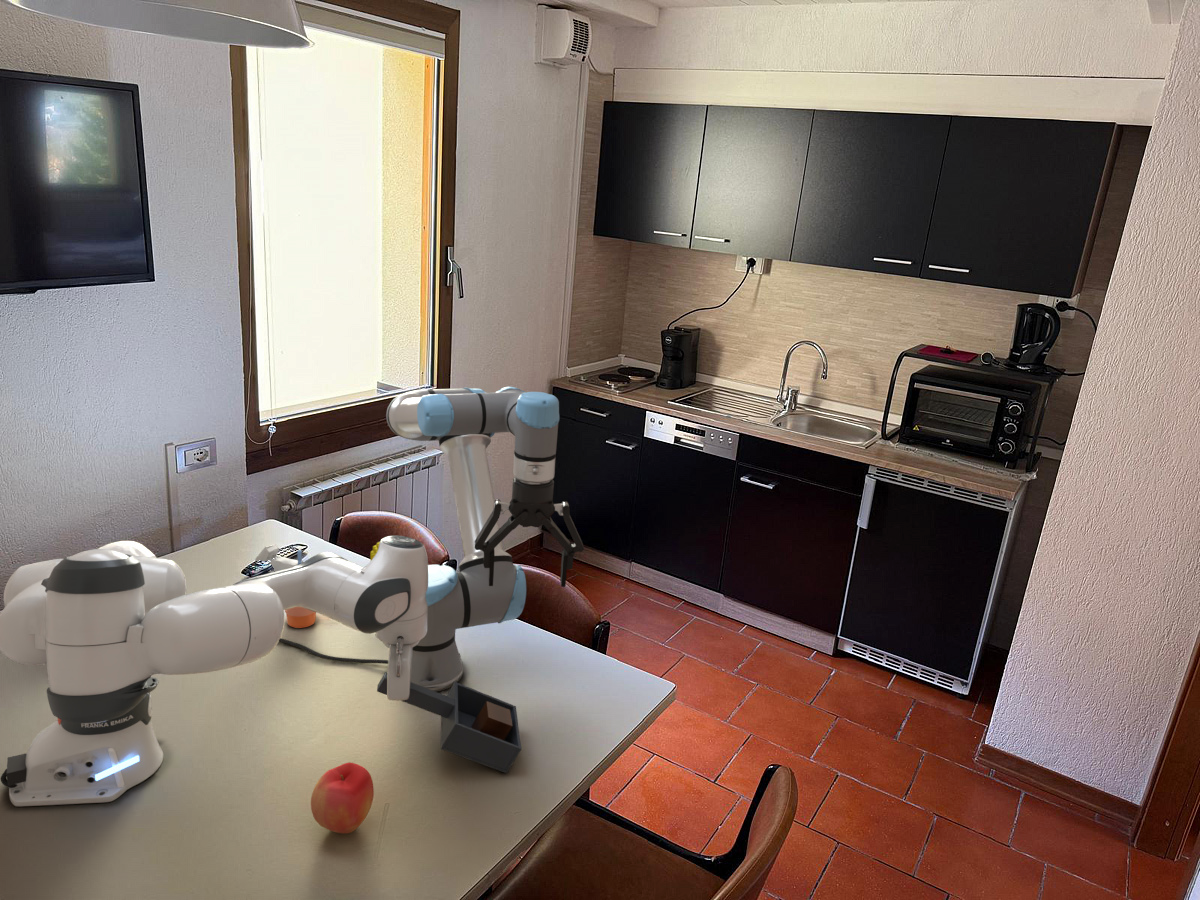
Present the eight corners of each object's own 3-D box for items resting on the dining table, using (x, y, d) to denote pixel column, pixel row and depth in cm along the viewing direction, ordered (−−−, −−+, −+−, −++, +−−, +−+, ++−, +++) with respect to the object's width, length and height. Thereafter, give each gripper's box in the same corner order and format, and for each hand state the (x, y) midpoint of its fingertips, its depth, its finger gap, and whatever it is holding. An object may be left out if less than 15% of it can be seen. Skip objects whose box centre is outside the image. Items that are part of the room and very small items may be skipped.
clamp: (253, 565, 223) (254, 542, 221) (265, 560, 226) (266, 537, 224) (309, 593, 215) (310, 569, 213) (320, 588, 218) (321, 564, 216)
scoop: (367, 721, 146) (382, 695, 145) (373, 678, 158) (387, 654, 157) (506, 773, 154) (521, 749, 153) (502, 728, 166) (516, 706, 165)
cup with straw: (309, 634, 194) (307, 561, 188) (272, 627, 195) (269, 555, 190) (329, 615, 202) (328, 546, 197) (294, 609, 204) (292, 540, 198)
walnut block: (472, 743, 156) (488, 717, 155) (471, 726, 160) (486, 700, 159) (496, 751, 157) (512, 726, 156) (494, 734, 162) (510, 709, 161)
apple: (348, 797, 145) (348, 747, 142) (386, 823, 140) (386, 772, 137) (300, 828, 137) (298, 775, 134) (338, 857, 132) (337, 803, 129)
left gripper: (418, 655, 140) (416, 727, 144) (421, 596, 159) (420, 662, 163) (378, 655, 138) (378, 728, 142) (386, 596, 158) (386, 662, 162)
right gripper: (463, 483, 150) (459, 591, 156) (604, 487, 153) (594, 593, 160) (464, 468, 157) (460, 573, 163) (598, 473, 161) (589, 575, 167)
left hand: (400, 692), depth 153 cm, fingers closed on scoop, 2 cm apart
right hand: (527, 583), depth 162 cm, fingers open, 13 cm apart
